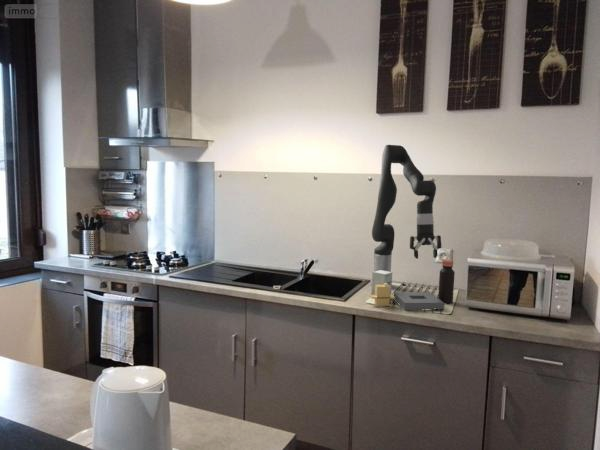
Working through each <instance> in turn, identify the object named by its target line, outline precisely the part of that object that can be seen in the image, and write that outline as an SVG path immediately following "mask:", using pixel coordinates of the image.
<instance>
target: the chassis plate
mask: <svg viewBox="0 0 600 450" xmlns="http://www.w3.org/2000/svg"><path fill="white" fill-rule="evenodd" d="M393 296H394V297H395V300H396V301H397V302H398V303H399V304H400V305H399V304H398V303H397V302H396V301H395V300H394V301H395V302H396V303H397V304H398V305H399V306H400V307H401V309H402V310H404V311H423V310H422V309H434V308H436V309H445V306H444V305H445V304H444V302H442V301H441V300H440V299H438V296H436V295H435V294H433V293H431V292H430V291H421V292H420V291H410V292H409V291H393Z"/></svg>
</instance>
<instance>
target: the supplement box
mask: <svg viewBox="0 0 600 450" xmlns="http://www.w3.org/2000/svg"><path fill="white" fill-rule="evenodd" d="M371 274H372V275H371V276H372V277H371V289H370V290H371V292H370V293H371V294H370V295H375V285H384V283H387V284H388V285H389V286H390V295H392V287H393V284H392V283H393V272H392V271H391V272H388V271H383V270H379V271H375V272H374V271H372V273H371Z"/></svg>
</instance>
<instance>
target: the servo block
mask: <svg viewBox="0 0 600 450" xmlns="http://www.w3.org/2000/svg"><path fill="white" fill-rule="evenodd" d="M369 297H370V299H374V305H375V306H376V307H389V306H390V299H393V300H394V299H395V297H394V294H391V295H390V286H389V285H388V284H387V283H384V285H375V295H371V294H369Z"/></svg>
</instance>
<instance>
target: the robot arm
mask: <svg viewBox="0 0 600 450" xmlns="http://www.w3.org/2000/svg"><path fill="white" fill-rule="evenodd" d="M392 164H400V165H402V167H403V169H402V173H403V176H404V178H405V179H406V180H407V182H408V183H409V184H410V187H411V190H412V192H413V194H414V195H416V196H418V197H421V196H424V199H423V200H420V201H418V202H417V203H416V236H413V235H410V237H409V249H411V250H413V256H414V258H415V259H419V250H418V249H419V248H420V247H421V246H431V247H432V249H433V251H432V253H433V254H432V255H433V258H434V259H436V258H437V257H438V256H439V255H438V251H439V249H442V238H441V237H442V236H441V235H434V232H435V231H434V215H433V214H434V213H433V212H434V211H433V208H434V207H433V205H434V201H435V197H436V193H437V186H436V183H435V182H434V180H428V179H427V180H425V177H424V175H423V174H422V172H421V171H420V170H419V169H418V168H417V167H416V165H415V164H414V162H413V161H412V158H411V157H410V155H409V153H408V151H407V150H406V148H405V147H404V146H402V145H399V144H397V145H396V144H386V145H385V146H384V147H383V149H382V154H381V172H380V173H381V174H380V180H379V181H380V182H379V186H378V187H379V188H378V193H377V194H378V195H377V203H376V209H375V215H374V220H373V224H372V229H371V237H372V239H373V240H374V242H375V243H376V242H377V243H380V244H379V245H378V246H376V247H375V248H374V255H373V272H375V271H379V270H383V271H388V272H392V255H393V254H392V252H393V249H394V243H395V229H394V226H393V225H391V224H390V223H389V224H388V223H386V219H387V216H388V214H389V213H390V211H391V210H392V208H393V207H394V205H395V203H396V200H397V194H398V193H397V192H398V188H397V185H396V181H395V180H394V178H393V175H392ZM385 223H386V224H385ZM434 240H435V241H436V244H435V242H434ZM415 241H417V242H416V244H415ZM414 245H415V246H414Z"/></svg>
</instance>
